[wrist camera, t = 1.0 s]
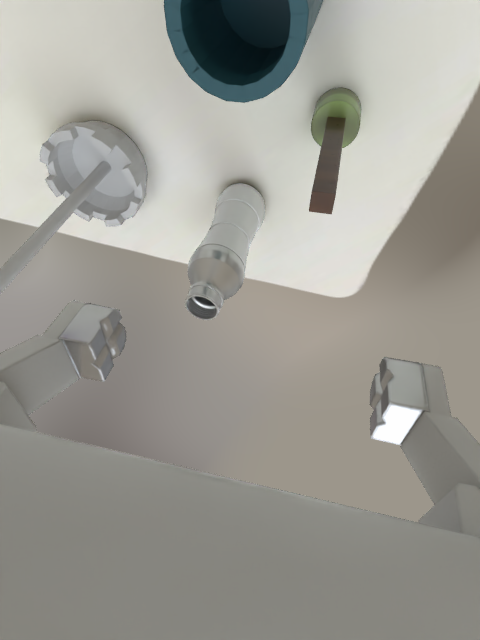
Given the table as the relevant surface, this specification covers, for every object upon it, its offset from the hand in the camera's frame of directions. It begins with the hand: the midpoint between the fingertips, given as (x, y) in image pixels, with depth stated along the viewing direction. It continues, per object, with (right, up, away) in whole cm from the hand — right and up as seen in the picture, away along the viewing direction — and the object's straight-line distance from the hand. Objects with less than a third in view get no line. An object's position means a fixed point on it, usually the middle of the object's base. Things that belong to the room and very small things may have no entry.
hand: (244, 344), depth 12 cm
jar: (+3, +31, +22) cm, 38 cm away
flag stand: (-18, +22, +40) cm, 49 cm away
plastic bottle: (+1, +17, +40) cm, 43 cm away
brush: (+10, +23, +29) cm, 38 cm away
